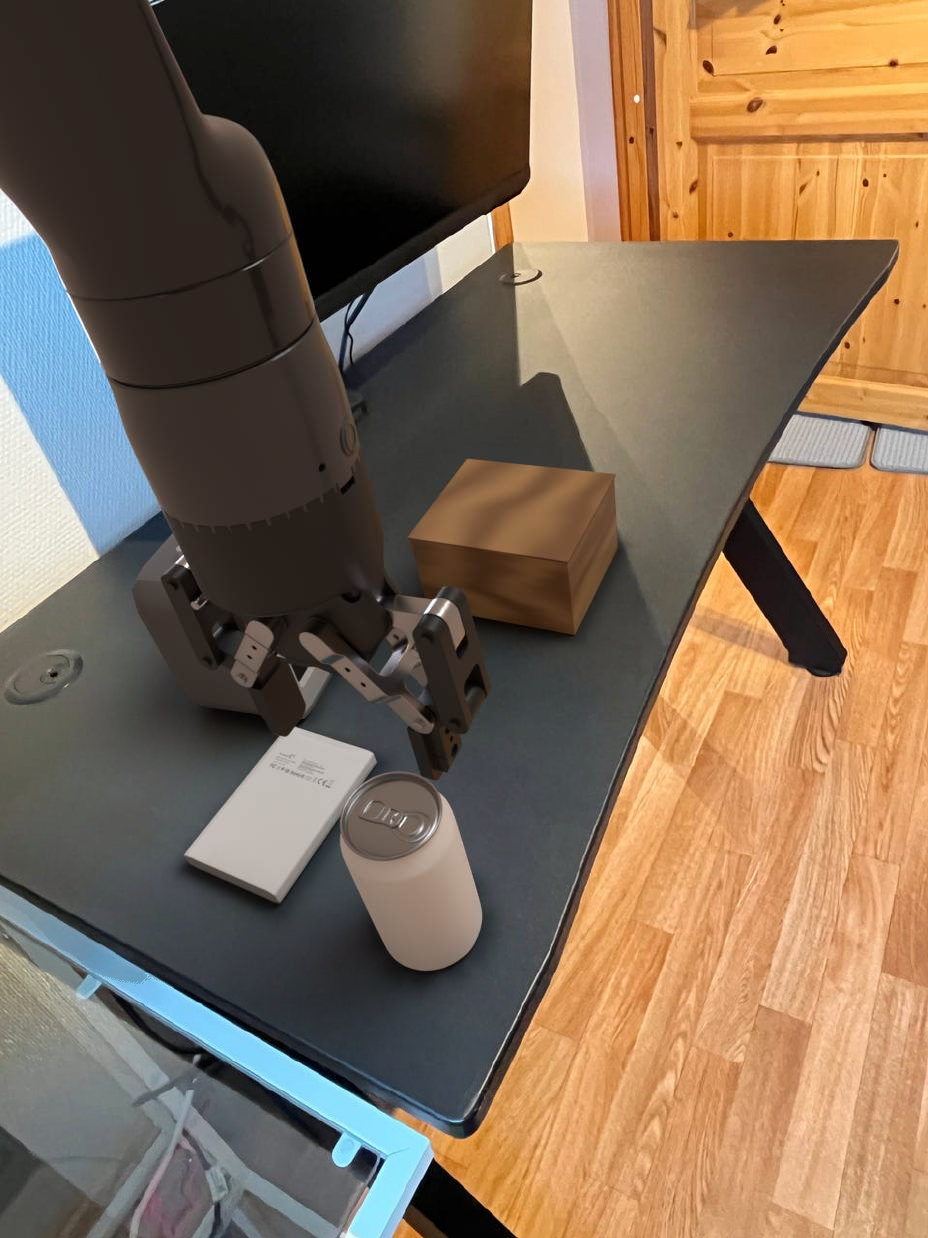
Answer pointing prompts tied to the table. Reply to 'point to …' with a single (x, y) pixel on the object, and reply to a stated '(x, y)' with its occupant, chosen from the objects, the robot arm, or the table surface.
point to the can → (411, 869)
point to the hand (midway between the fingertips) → (362, 743)
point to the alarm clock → (180, 656)
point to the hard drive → (281, 813)
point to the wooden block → (520, 541)
